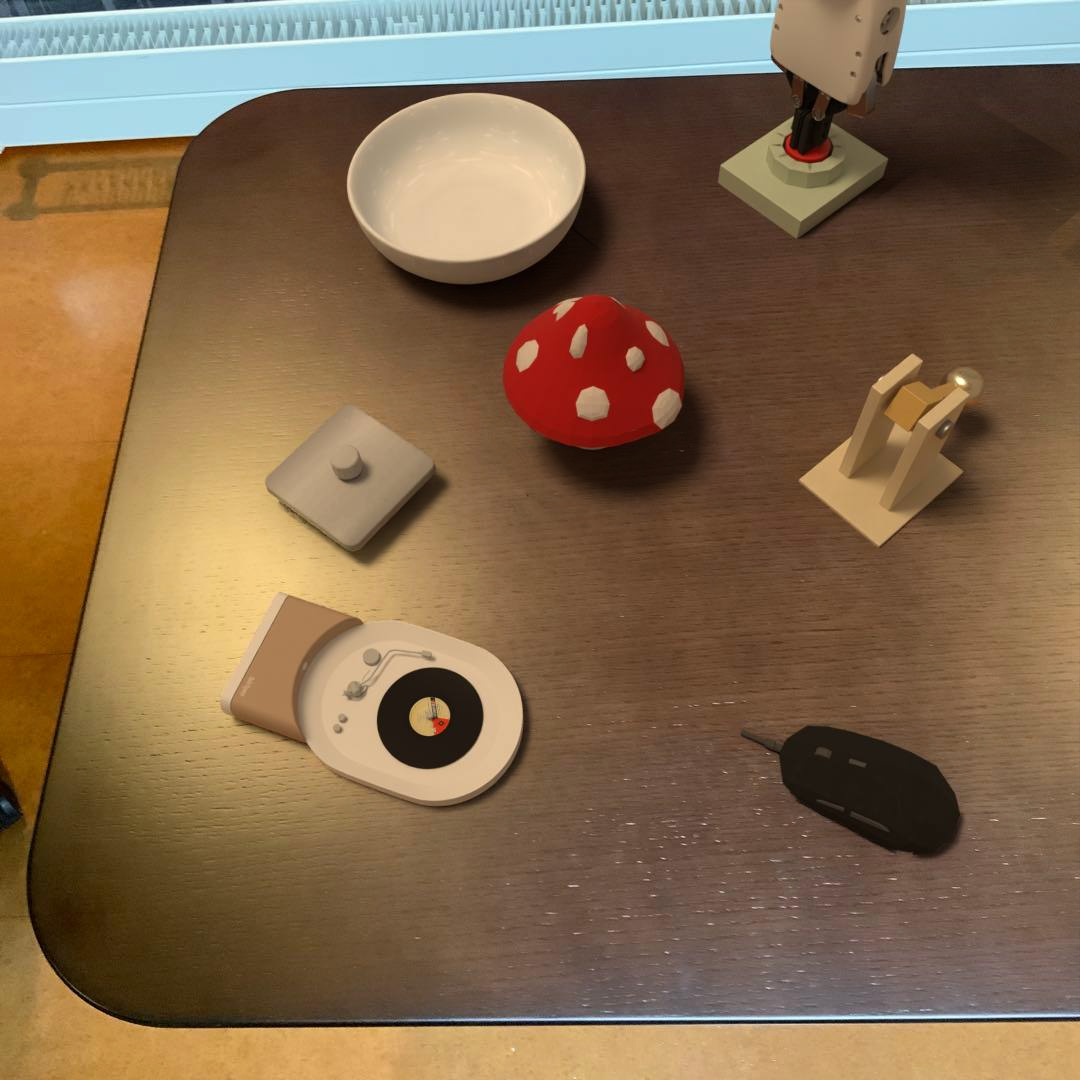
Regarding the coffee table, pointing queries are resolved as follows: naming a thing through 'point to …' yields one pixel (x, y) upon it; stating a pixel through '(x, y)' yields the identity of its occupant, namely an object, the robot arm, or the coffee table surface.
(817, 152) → the lamp button
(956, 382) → the lever
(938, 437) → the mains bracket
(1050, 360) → the coffee table surface
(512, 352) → the decorative mushroom
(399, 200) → the serving bowl
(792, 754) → the gaming mouse
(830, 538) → the coffee table surface
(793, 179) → the lamp box
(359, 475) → the light switch
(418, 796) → the record player
